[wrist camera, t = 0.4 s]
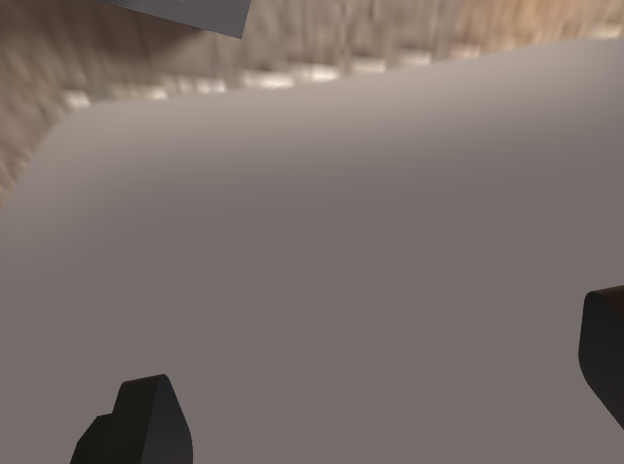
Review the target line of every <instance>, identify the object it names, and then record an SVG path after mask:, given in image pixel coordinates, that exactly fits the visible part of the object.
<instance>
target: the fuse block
mask: <svg viewBox="0 0 624 464" xmlns="http://www.w3.org/2000/svg"><path fill="white" fill-rule="evenodd" d="M97 1H100V2H104V3H108V4H112V5H115V6H119V7H123V8H127V9H130V10H134V11H138V12H142V13H145V14H149V15H153V16H157V17H160V18H164V19H168V20H172V21H175V22H179V23H183V24H187V25H190V26H194V27H198V28H202V29H205V30H209V31H213V32H217V33H220V34H224V35H228V36H232V37H235V38H239V39H242V34H243V30H244V26H245V22H246V18H247V14H248V10H249V6H250V1H251V0H183V1H180V0H97Z"/></svg>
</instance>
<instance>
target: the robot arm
mask: <svg viewBox="0 0 624 464" xmlns="http://www.w3.org/2000/svg"><path fill="white" fill-rule="evenodd" d="M578 356H579V363H580V367H581V370H582V373H583V376H584V378H585V380H586V381H587V383H588V385H589V386H590V387H591V389H592V390H593V391H594V393H595V394H596V395H597V396H598V398H599V399H600V400H601V401H602V403H603V404H604V405H605V407H606V408H607V409H608V410H609V412H610V413H611V414H612V416H613V417H614V418H615V419H616V421H617V422H618V423H619V424H620V426H621V427H622V428H623V430H624V285H622V286H616V287H611V288H606V289H601V290H597V291H591V292H589V293H588V294H587V295H586V297H585V301H584V308H583V317H582V325H581V334H580V342H579V352H578ZM70 464H193V447H192V439H191V434H190V430H189V428H188V425H187V422H186V420H185V417H184V415H183V412H182V410H181V407H180V405H179V403H178V400H177V397H176V395H175V392H174V390H173V388H172V385H171V382H170V380H169V378H168V377H167V376H166V375H165V374H161V375H156V376H151V377H146V378H141V379H136V380H130V381H125V382H123V384H122V385H121V387H120V389H119V392H118V396H117V399H116V402H115V406H114V409H113V412H112V413H111V414H106V415H102V416H97V417H96V419H95V420H94V421H93V423H92V424H91V425H90V427H89V428H88V429H87V430H86V432H85V433H84V434H83V436H82V437H81V438H80V440H79V441H78V442H77V445H76V449H75V451H74V454H73V456H72V459H71V462H70Z"/></svg>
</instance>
